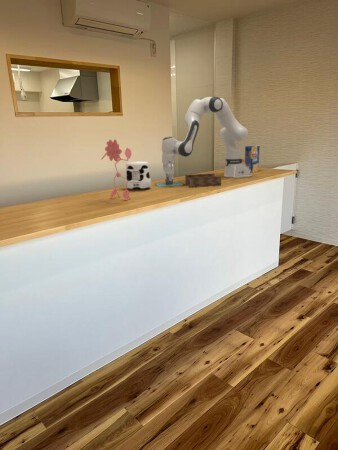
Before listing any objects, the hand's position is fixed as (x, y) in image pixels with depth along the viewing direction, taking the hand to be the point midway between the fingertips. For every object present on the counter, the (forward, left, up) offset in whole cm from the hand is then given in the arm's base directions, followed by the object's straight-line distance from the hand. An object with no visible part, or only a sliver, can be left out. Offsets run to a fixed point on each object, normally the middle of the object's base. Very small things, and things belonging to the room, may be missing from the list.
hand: (169, 179), depth 237 cm
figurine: (+40, +39, -4) cm, 56 cm away
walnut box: (-23, +8, -4) cm, 25 cm away
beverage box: (-82, -38, -4) cm, 90 cm away
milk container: (+23, +8, -4) cm, 25 cm away
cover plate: (0, 0, -4) cm, 4 cm away
